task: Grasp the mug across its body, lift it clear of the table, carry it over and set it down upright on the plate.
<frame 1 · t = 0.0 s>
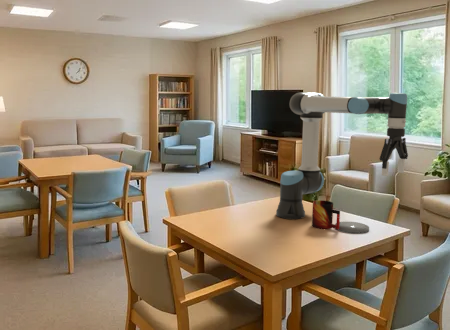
hand: (392, 174, 206), 28 cm above the table, fingers open, 13 cm apart
plate: (351, 228, 217), on the table
mug: (326, 227, 219), on the table
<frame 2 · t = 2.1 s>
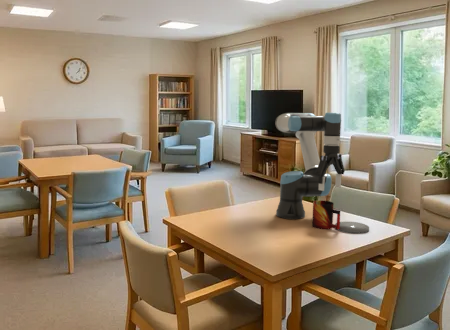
hand: (329, 188, 218), 19 cm above the table, fingers open, 13 cm apart
nothing on the table moved.
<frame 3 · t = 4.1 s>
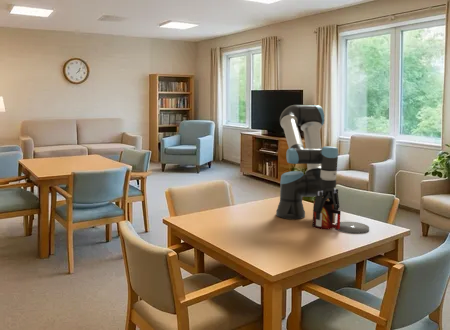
hand: (325, 224, 218), 2 cm above the table, fingers open, 10 cm apart
mug: (326, 227, 219), on the table, touching gripper, plate
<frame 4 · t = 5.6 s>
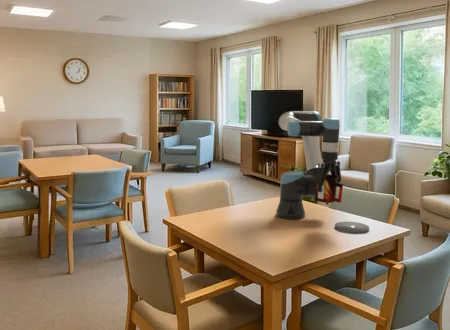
hand: (327, 196, 217), 15 cm above the table, fingers closed on mug, 10 cm apart
mug: (328, 201, 217), point 13 cm above the table, touching gripper
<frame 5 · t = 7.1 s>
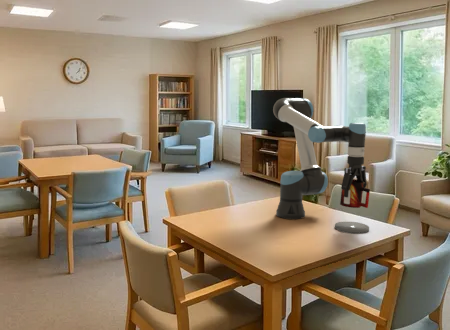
hand: (353, 202, 215), 13 cm above the table, fingers closed on mug, 10 cm apart
mug: (354, 206, 215), point 11 cm above the table, touching gripper
when the fingers open (4 cm above the table, at t = 9.2 s): mug stays where it is, resting on plate.
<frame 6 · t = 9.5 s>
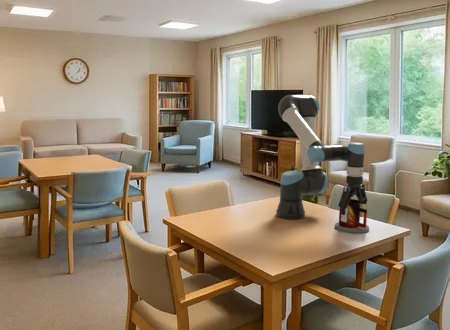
hand: (352, 219, 217), 5 cm above the table, fingers open, 13 cm apart
mug: (353, 226, 217), point 1 cm above the table, touching plate
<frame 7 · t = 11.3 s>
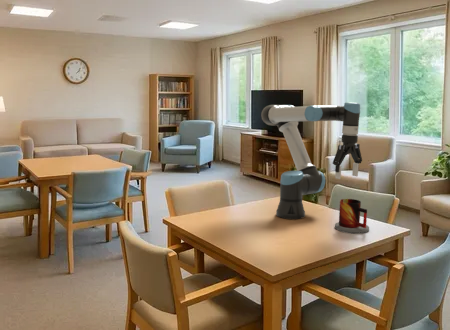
hand: (346, 177, 223), 23 cm above the table, fingers open, 13 cm apart
nothing on the table moved.
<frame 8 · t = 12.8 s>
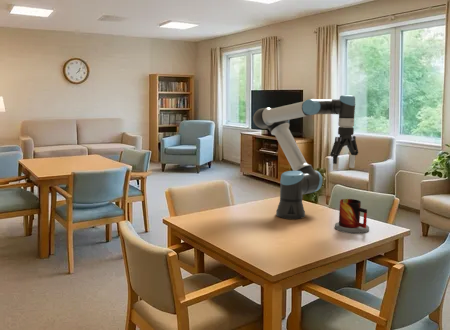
hand: (343, 169, 228), 27 cm above the table, fingers open, 13 cm apart
nothing on the table moved.
at the end: mug 0.7 cm from the plate (horizontally); mug point 1.1 cm above the table; mug tilted 0° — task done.
